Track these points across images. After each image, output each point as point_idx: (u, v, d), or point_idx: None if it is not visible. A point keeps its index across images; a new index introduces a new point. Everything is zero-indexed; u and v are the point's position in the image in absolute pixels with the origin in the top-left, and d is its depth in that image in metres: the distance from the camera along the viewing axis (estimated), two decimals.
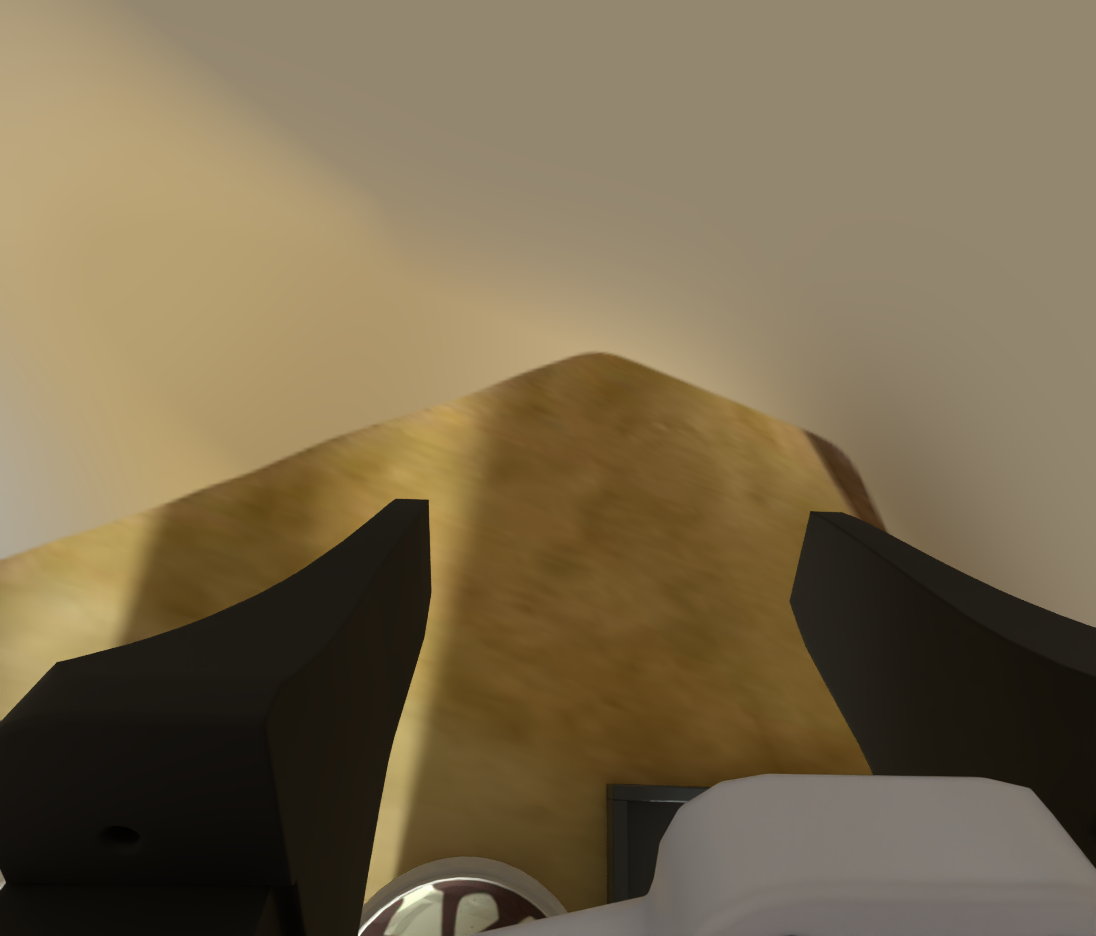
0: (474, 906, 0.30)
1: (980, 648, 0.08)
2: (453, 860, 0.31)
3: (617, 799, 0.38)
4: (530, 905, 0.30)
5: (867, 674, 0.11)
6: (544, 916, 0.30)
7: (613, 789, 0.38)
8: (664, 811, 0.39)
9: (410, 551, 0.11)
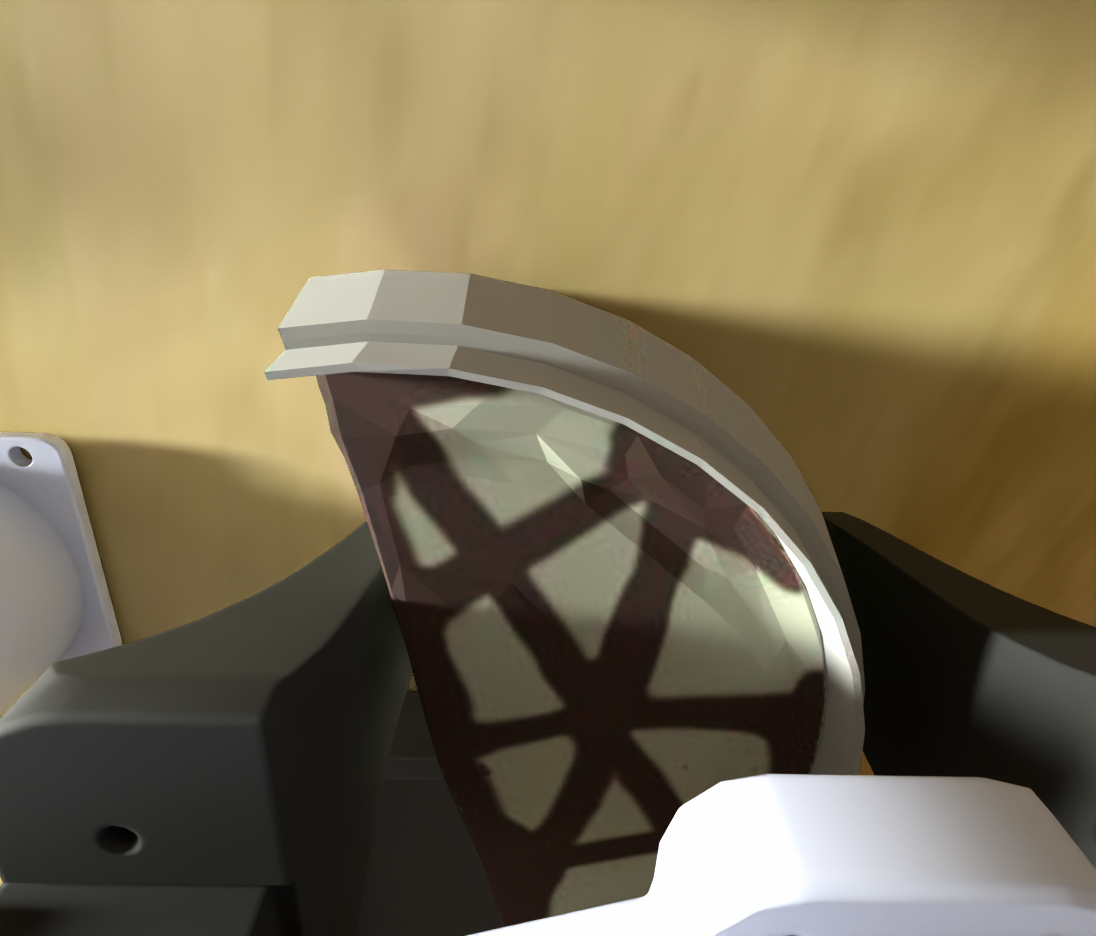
0: (736, 766, 0.10)
1: (981, 648, 0.08)
2: None
3: None
4: None
5: (868, 674, 0.11)
6: None
7: None
8: None
9: None
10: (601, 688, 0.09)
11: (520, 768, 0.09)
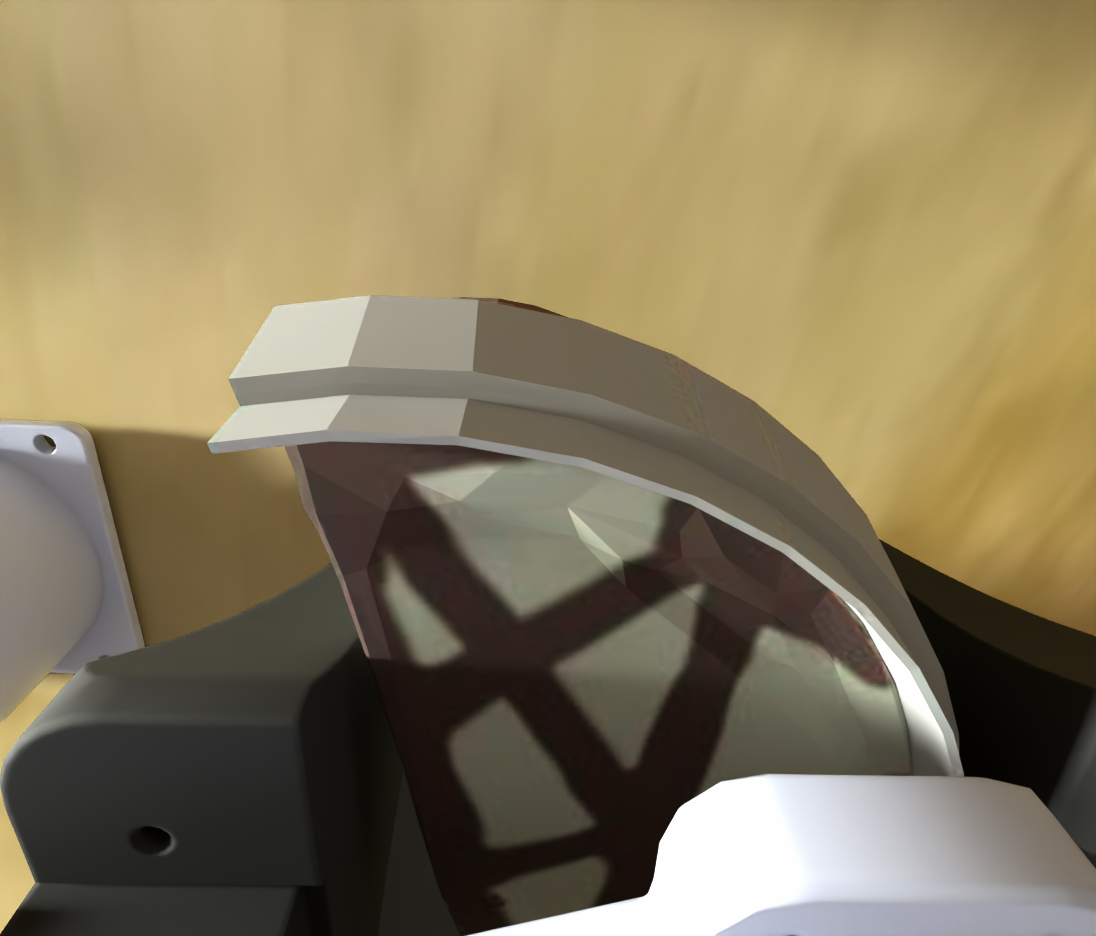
0: None
1: (952, 648, 0.08)
2: None
3: None
4: None
5: None
6: None
7: None
8: None
9: None
10: (639, 801, 0.07)
11: (539, 897, 0.08)
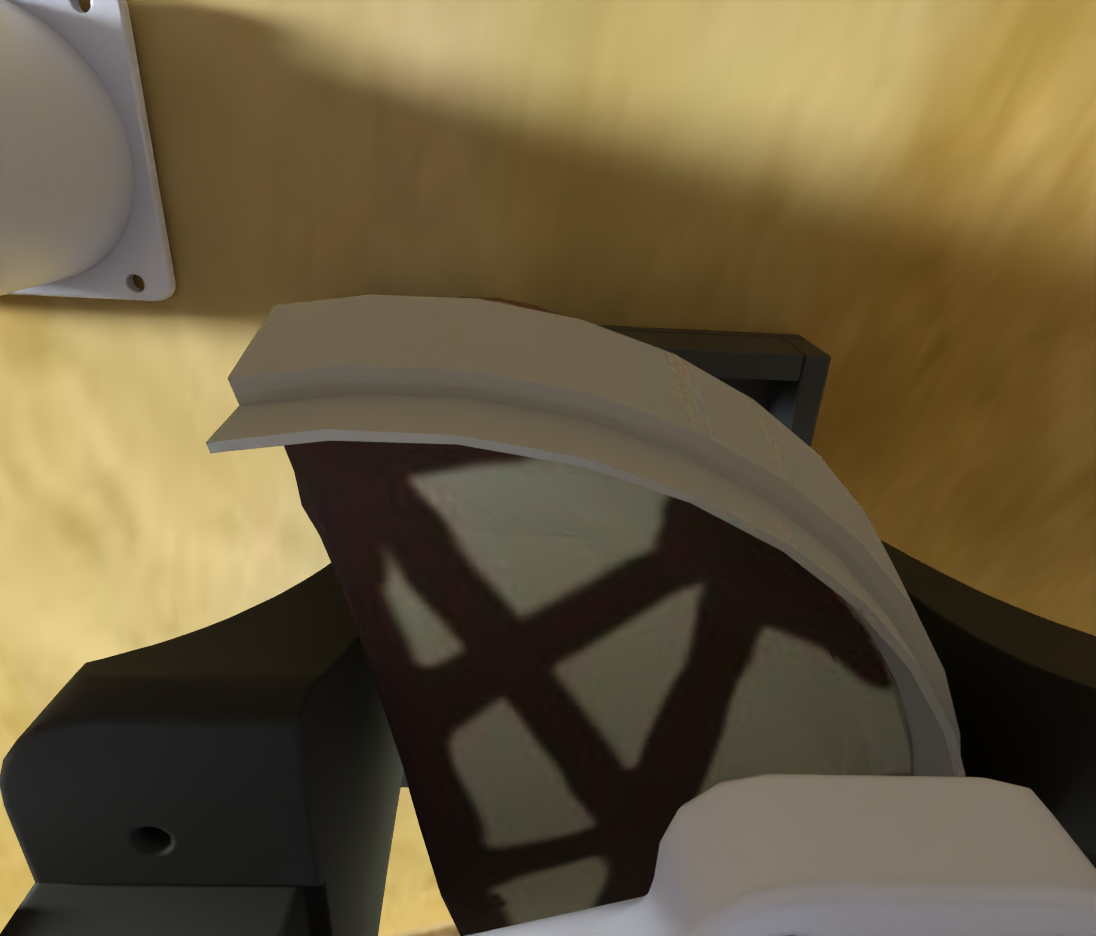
0: None
1: (953, 648, 0.08)
2: None
3: (804, 363, 0.20)
4: None
5: None
6: None
7: (822, 356, 0.20)
8: None
9: None
10: (640, 801, 0.07)
11: (540, 897, 0.08)
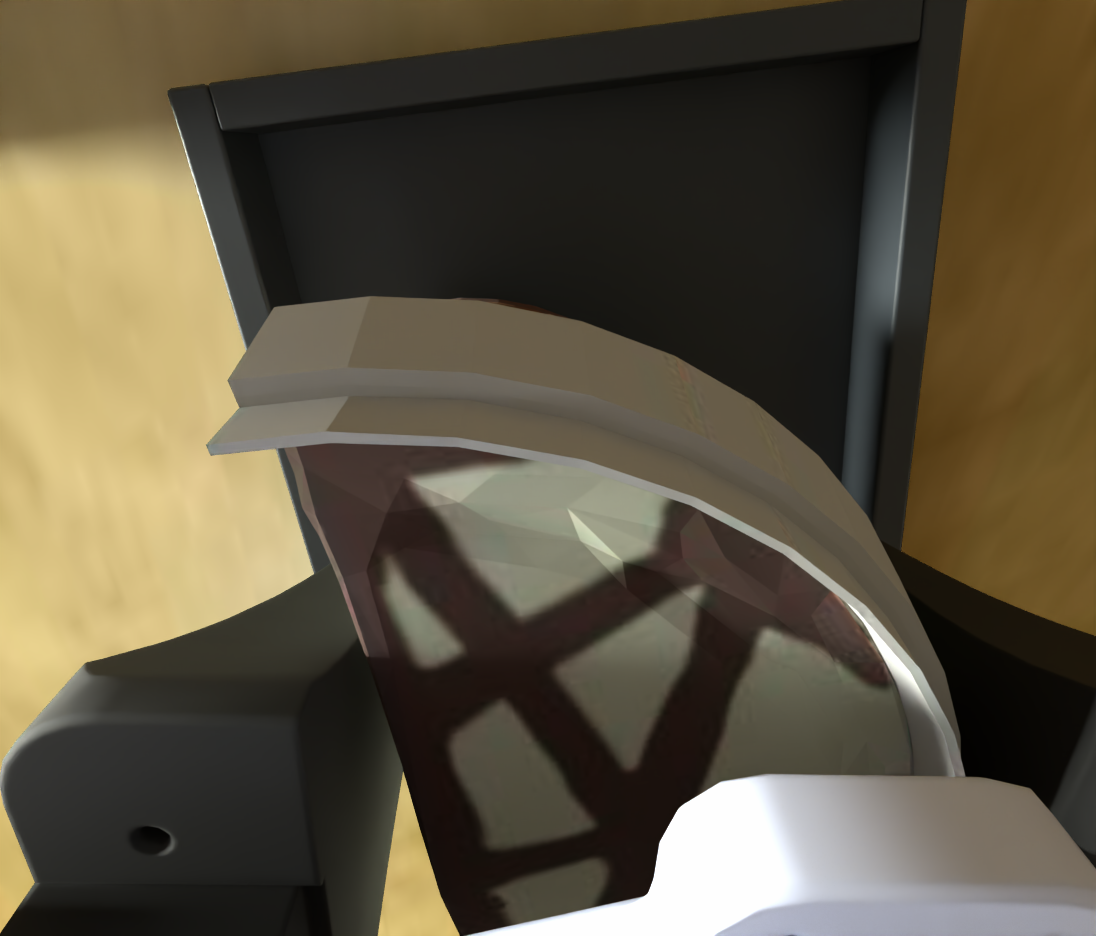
0: None
1: (953, 648, 0.08)
2: None
3: (926, 5, 0.12)
4: None
5: None
6: None
7: None
8: (835, 188, 0.15)
9: None
10: (640, 802, 0.07)
11: (540, 899, 0.08)
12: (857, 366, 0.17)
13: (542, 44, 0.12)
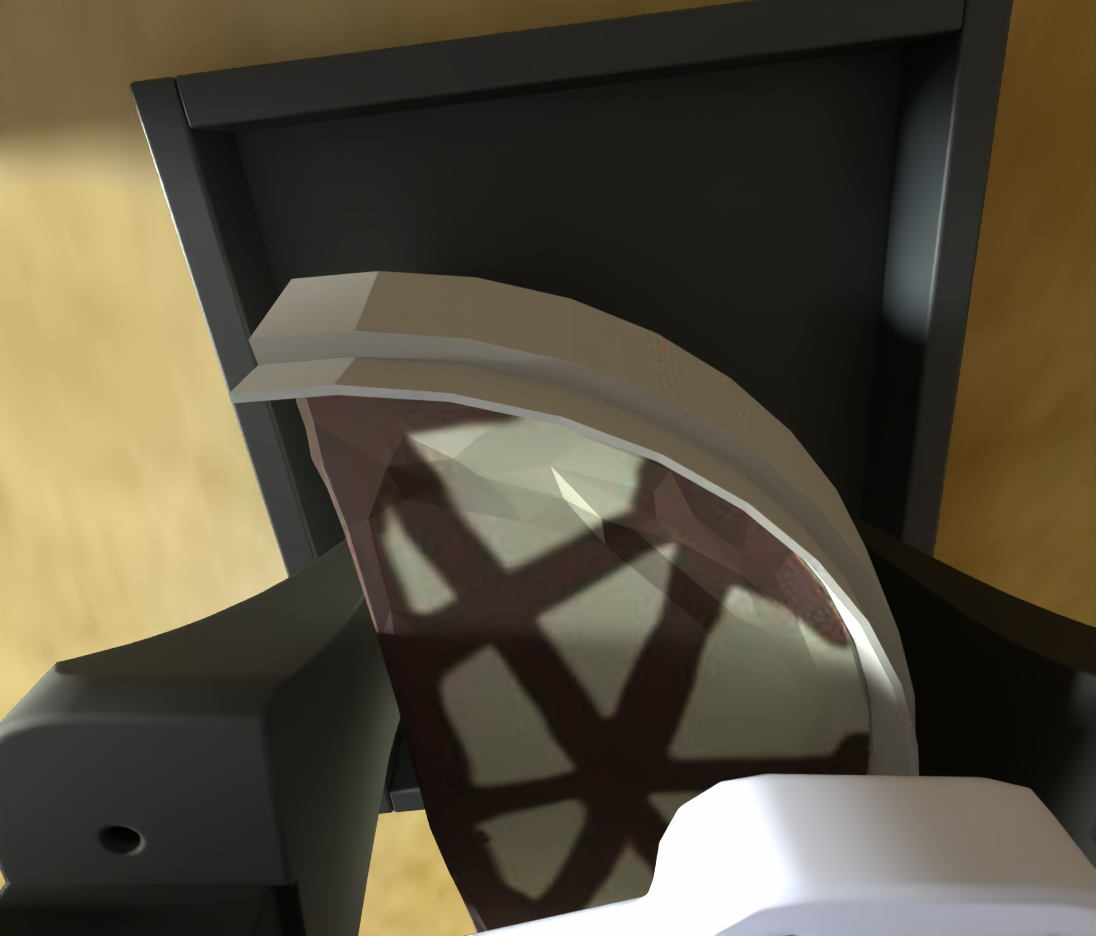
0: None
1: (980, 648, 0.08)
2: None
3: None
4: None
5: None
6: None
7: None
8: (862, 191, 0.14)
9: None
10: (616, 748, 0.08)
11: (522, 835, 0.08)
12: (883, 383, 0.15)
13: (544, 33, 0.11)
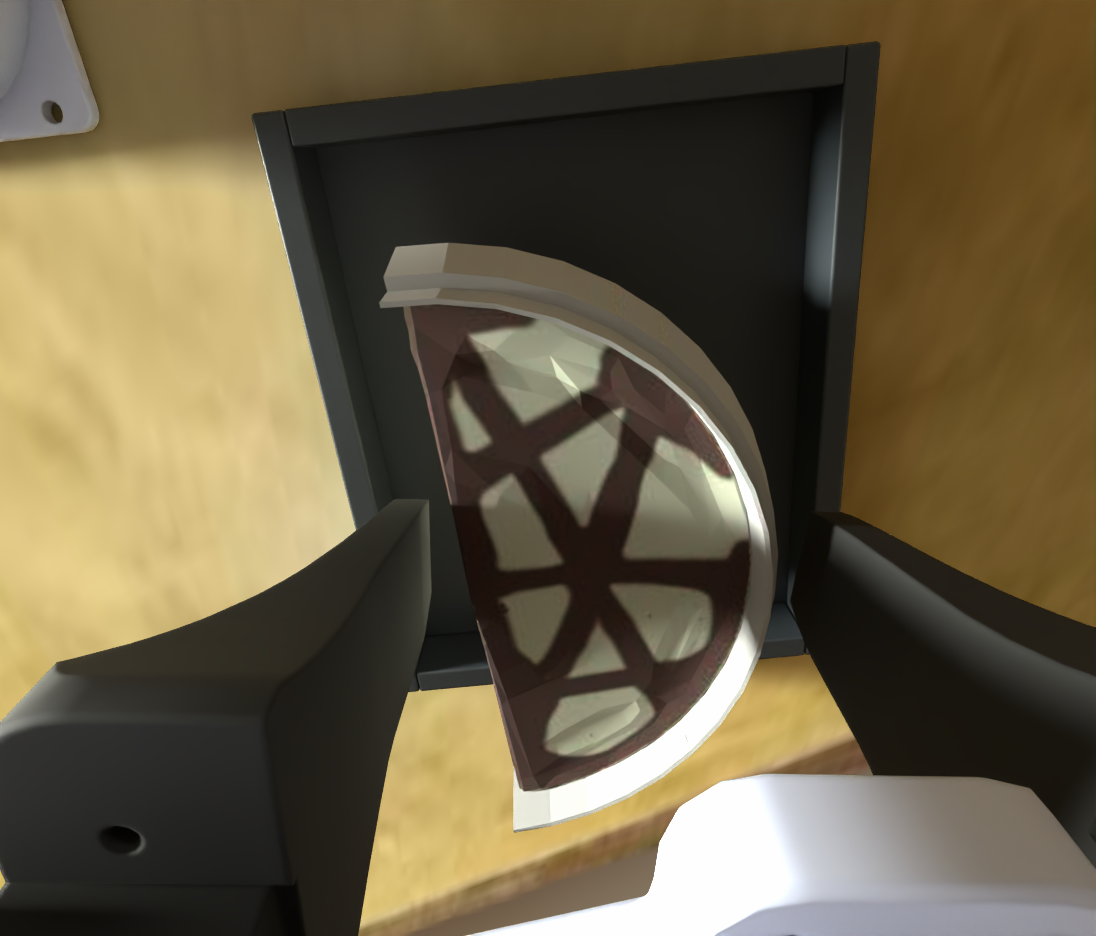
0: (687, 617, 0.13)
1: (980, 649, 0.08)
2: None
3: (848, 56, 0.16)
4: (675, 716, 0.14)
5: (867, 674, 0.11)
6: (652, 739, 0.14)
7: (869, 44, 0.16)
8: (785, 197, 0.19)
9: (410, 551, 0.11)
10: (589, 549, 0.13)
11: (529, 609, 0.13)
12: (805, 345, 0.20)
13: (547, 83, 0.16)
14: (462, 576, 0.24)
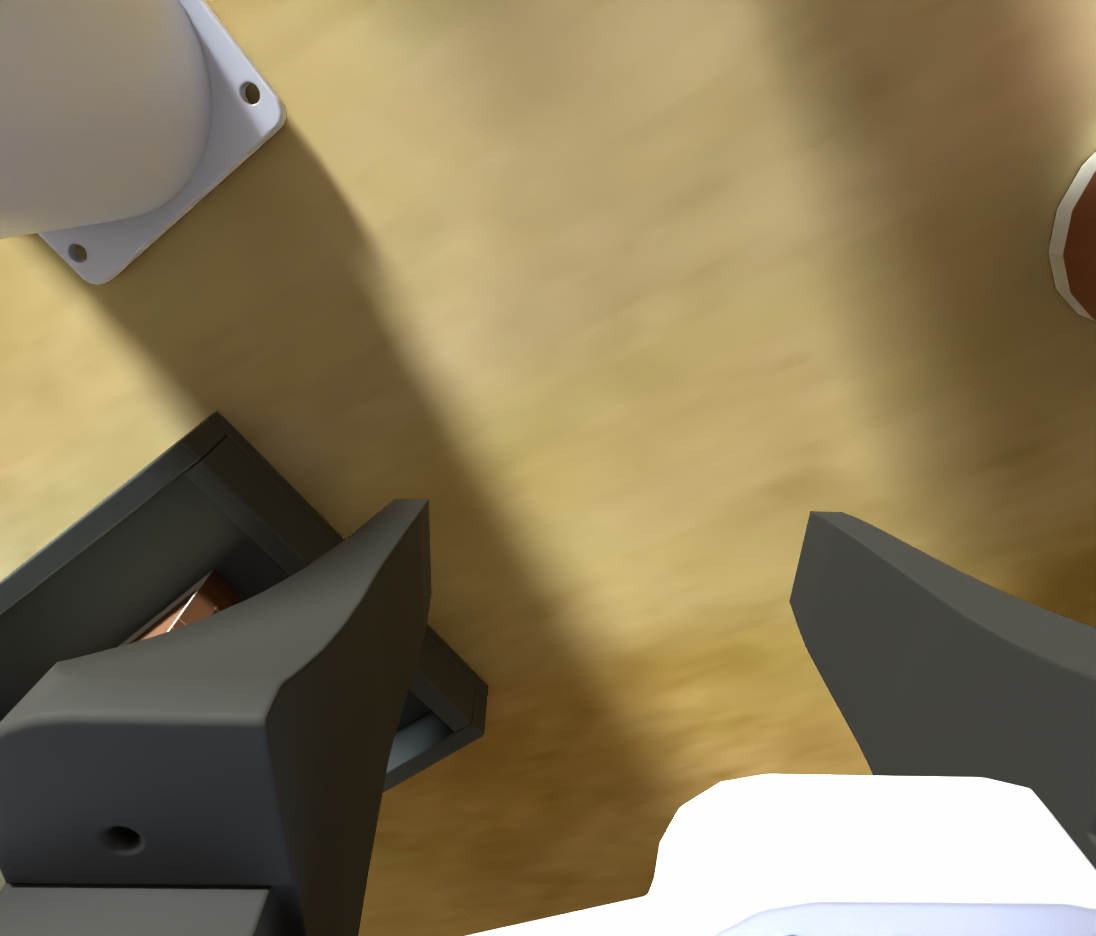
0: None
1: (980, 648, 0.08)
2: None
3: (467, 727, 0.25)
4: None
5: (867, 674, 0.11)
6: None
7: (479, 731, 0.25)
8: None
9: (410, 551, 0.11)
10: None
11: None
12: None
13: None
14: None
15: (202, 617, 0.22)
